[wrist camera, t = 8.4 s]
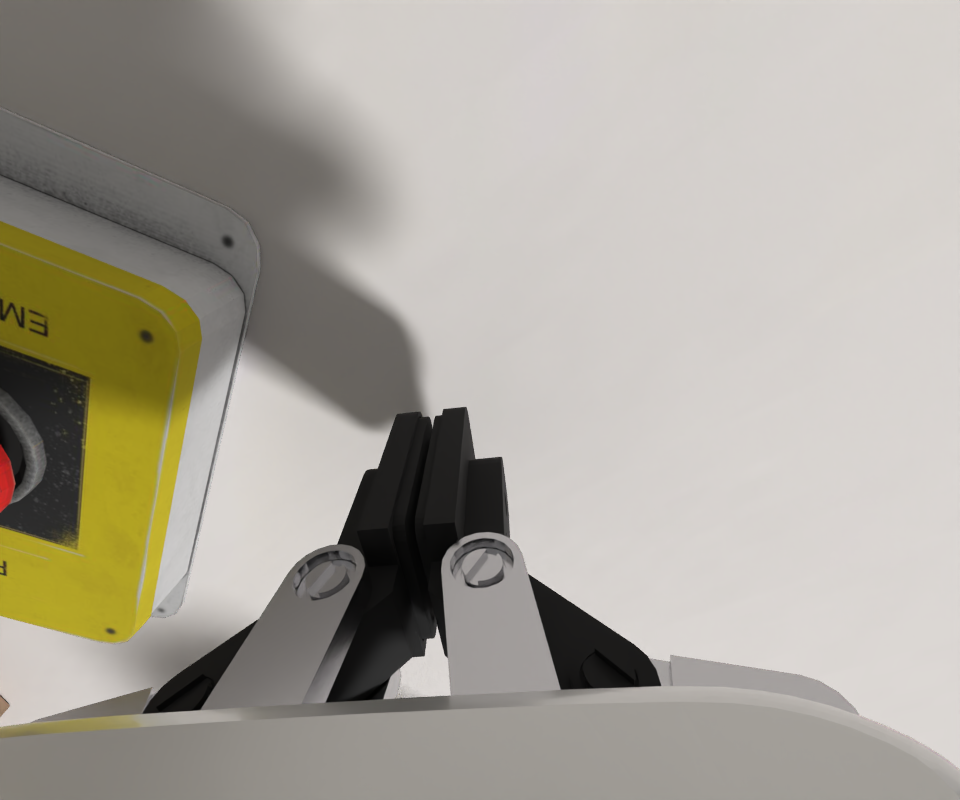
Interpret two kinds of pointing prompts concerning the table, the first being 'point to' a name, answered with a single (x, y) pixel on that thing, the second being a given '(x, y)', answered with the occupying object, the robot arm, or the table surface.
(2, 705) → the brown wooden bar
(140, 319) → the emergency button
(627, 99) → the table surface
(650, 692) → the robot arm
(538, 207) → the table surface
